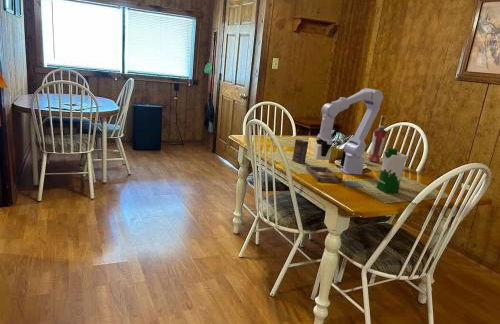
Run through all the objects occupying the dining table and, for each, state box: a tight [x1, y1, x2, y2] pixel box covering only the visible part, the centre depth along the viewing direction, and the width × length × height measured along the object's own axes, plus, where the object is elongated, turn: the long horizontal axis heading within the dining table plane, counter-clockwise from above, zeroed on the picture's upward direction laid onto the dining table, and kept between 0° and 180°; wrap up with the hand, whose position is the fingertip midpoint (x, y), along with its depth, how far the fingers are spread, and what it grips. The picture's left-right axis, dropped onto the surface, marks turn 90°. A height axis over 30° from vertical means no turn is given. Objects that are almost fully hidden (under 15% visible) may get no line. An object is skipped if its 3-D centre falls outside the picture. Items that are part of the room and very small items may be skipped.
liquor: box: [368, 115, 387, 163], centre depth 219 cm, size 7×7×28 cm
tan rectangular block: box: [316, 171, 337, 178], centre depth 175 cm, size 8×4×3 cm, turn 98°
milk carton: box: [375, 147, 409, 194], centre depth 167 cm, size 9×9×20 cm
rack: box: [305, 165, 342, 184], centre depth 180 cm, size 11×18×2 cm, turn 10°
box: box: [292, 138, 309, 164], centre depth 199 cm, size 6×4×12 cm
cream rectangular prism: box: [313, 143, 332, 161], centre depth 182 cm, size 7×4×7 cm, turn 100°
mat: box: [340, 180, 364, 188], centre depth 172 cm, size 8×7×1 cm
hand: (321, 155), depth 182 cm, fingers closed on cream rectangular prism, 4 cm apart
